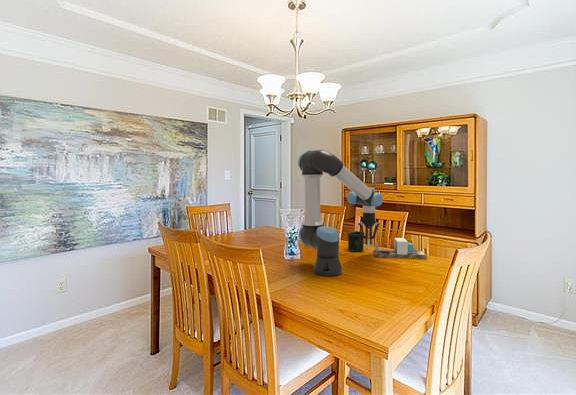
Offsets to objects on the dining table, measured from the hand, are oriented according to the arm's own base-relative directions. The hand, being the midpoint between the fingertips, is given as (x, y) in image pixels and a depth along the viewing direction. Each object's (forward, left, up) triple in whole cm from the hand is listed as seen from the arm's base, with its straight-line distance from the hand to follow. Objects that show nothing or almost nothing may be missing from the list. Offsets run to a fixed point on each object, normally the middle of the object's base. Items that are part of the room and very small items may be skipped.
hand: (368, 249), depth 204 cm
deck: (+14, -12, -4) cm, 19 cm away
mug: (+3, +14, -4) cm, 15 cm away
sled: (+13, -11, -1) cm, 17 cm away
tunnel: (+15, -13, -1) cm, 20 cm away
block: (+18, -15, 0) cm, 24 cm away
